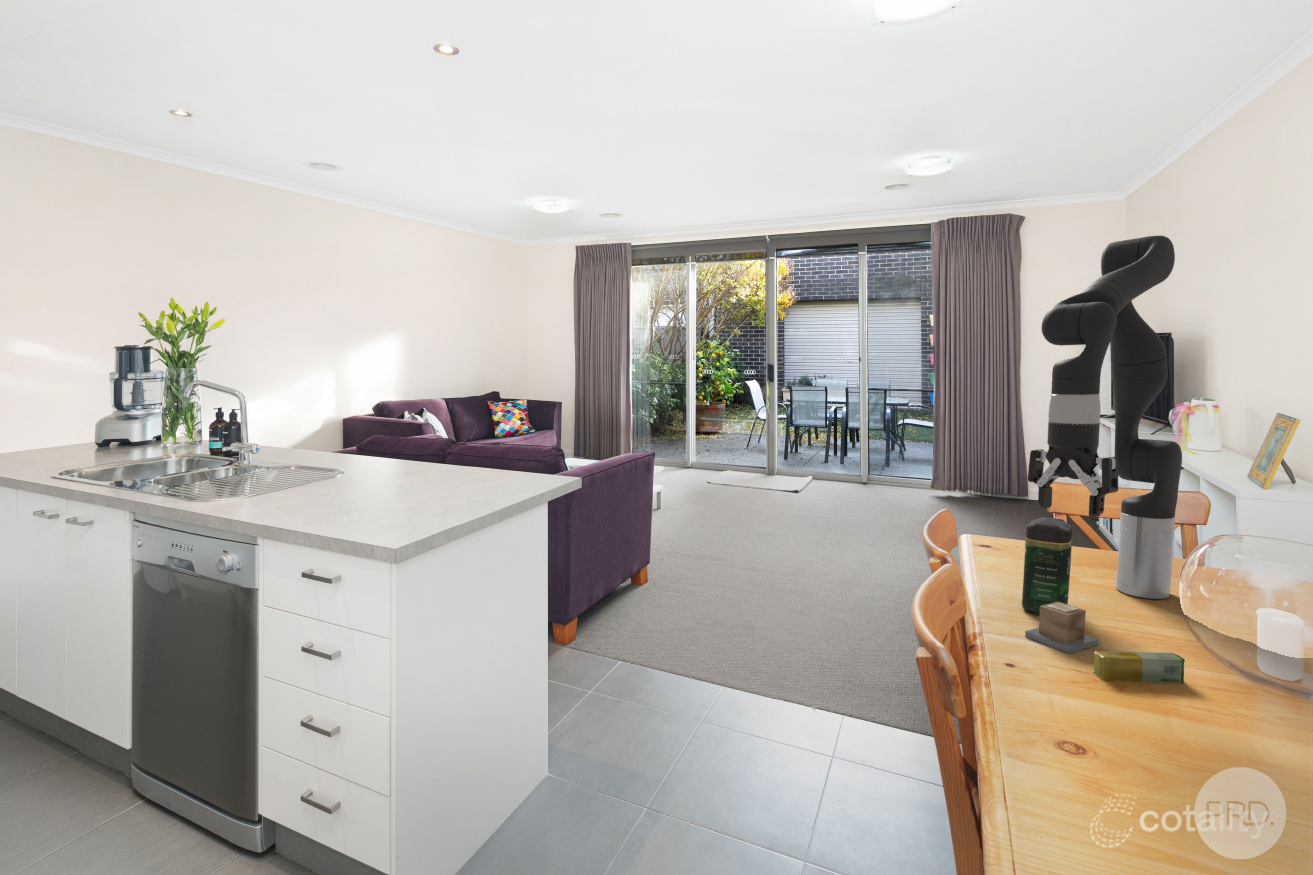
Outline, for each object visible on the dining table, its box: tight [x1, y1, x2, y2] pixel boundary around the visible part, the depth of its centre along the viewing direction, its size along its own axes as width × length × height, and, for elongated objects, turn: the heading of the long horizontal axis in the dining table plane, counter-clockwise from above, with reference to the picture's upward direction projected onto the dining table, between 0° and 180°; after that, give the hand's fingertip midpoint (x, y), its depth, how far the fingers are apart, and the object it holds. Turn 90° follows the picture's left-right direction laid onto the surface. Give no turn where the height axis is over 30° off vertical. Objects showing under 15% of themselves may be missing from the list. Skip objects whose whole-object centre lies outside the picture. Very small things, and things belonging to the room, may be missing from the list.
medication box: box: [1092, 650, 1186, 684], centre depth 101 cm, size 12×3×4 cm, turn 84°
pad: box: [1024, 627, 1099, 655], centre depth 115 cm, size 8×8×1 cm
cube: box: [1038, 602, 1087, 643], centre depth 114 cm, size 5×5×5 cm
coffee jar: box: [1021, 516, 1073, 615], centre depth 129 cm, size 10×8×19 cm
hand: (1069, 511), depth 113 cm, fingers open, 8 cm apart
